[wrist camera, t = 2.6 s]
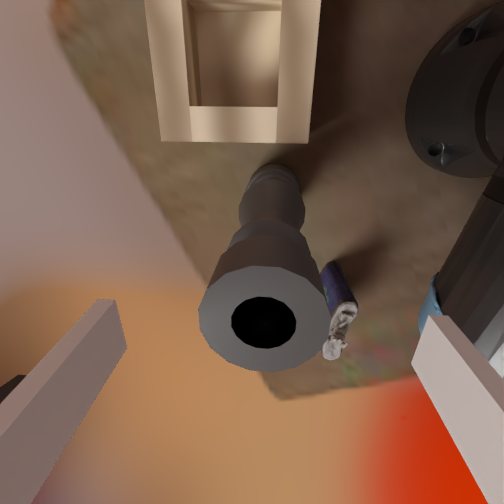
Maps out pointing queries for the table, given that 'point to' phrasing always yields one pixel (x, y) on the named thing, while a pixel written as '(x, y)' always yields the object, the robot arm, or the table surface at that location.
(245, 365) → the candle holder
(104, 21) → the table surface
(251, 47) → the socket block
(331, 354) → the flask
